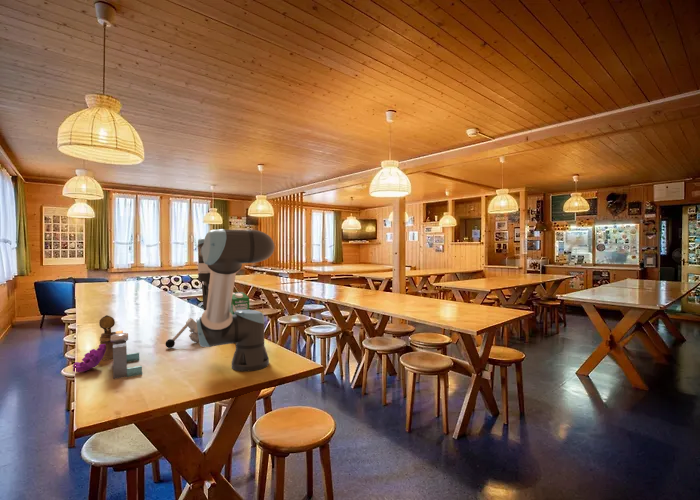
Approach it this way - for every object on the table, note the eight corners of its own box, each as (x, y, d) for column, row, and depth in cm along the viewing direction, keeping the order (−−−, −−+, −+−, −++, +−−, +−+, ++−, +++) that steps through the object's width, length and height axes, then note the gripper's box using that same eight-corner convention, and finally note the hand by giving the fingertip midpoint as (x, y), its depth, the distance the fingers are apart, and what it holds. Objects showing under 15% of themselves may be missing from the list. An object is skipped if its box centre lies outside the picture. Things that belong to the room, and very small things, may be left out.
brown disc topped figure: (118, 351, 173) (117, 313, 173) (122, 357, 163) (122, 318, 163) (95, 354, 168) (95, 316, 167) (98, 362, 157) (98, 321, 157)
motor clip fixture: (142, 374, 141) (141, 338, 141) (110, 380, 136) (110, 342, 136) (139, 359, 160) (138, 327, 160) (111, 363, 155) (111, 330, 155)
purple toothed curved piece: (106, 362, 156) (105, 340, 156) (106, 373, 144) (105, 349, 143) (73, 368, 150) (72, 345, 150) (70, 379, 137) (69, 354, 137)
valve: (214, 334, 188) (194, 316, 182) (190, 364, 178) (167, 345, 171) (205, 333, 195) (186, 315, 189) (181, 361, 185) (159, 343, 178)
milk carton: (233, 343, 185) (232, 294, 185) (226, 339, 192) (226, 293, 192) (250, 340, 191) (249, 293, 191) (243, 336, 198) (242, 291, 198)
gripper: (219, 272, 162) (219, 325, 162) (212, 271, 173) (213, 320, 173) (201, 273, 158) (201, 327, 158) (195, 271, 168) (196, 322, 169)
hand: (207, 323), depth 165 cm, fingers closed
